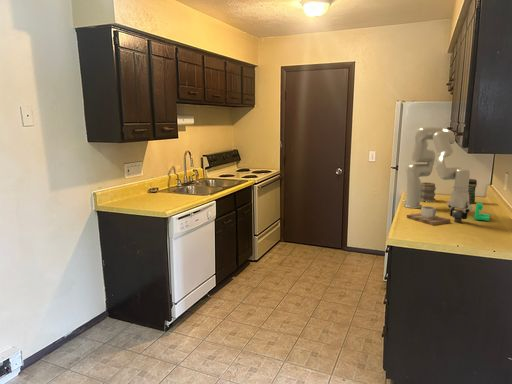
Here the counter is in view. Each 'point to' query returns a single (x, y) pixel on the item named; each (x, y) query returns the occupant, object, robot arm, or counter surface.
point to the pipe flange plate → (428, 216)
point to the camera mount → (479, 215)
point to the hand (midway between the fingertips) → (458, 217)
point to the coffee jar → (472, 190)
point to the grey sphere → (457, 215)
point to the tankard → (427, 192)
